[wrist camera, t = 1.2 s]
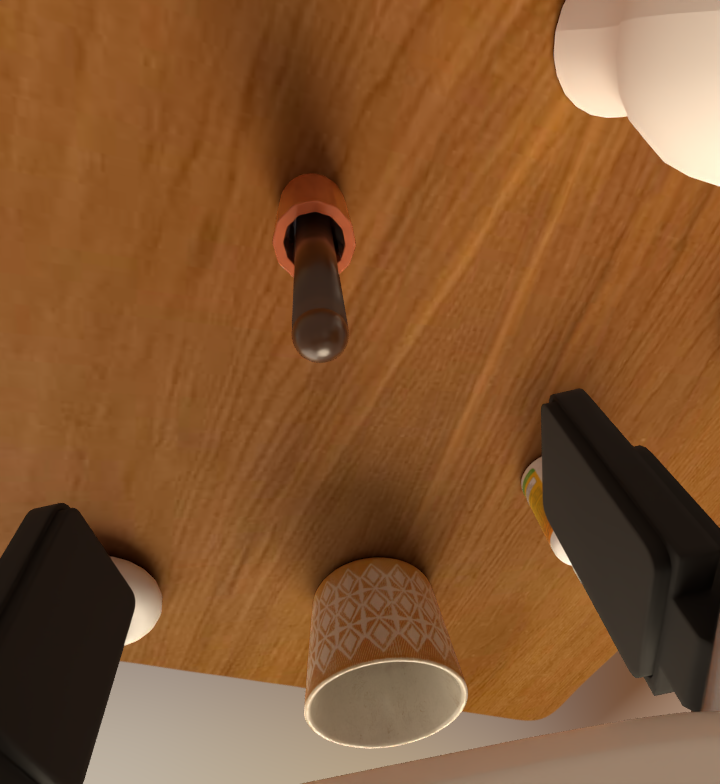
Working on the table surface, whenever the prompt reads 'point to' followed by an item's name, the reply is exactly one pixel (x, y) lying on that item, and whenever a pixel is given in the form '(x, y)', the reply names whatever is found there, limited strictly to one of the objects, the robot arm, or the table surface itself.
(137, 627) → the donut
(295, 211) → the holder
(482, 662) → the table surface
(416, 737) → the planter
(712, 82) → the cup
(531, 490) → the supplement bottle
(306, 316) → the stick
